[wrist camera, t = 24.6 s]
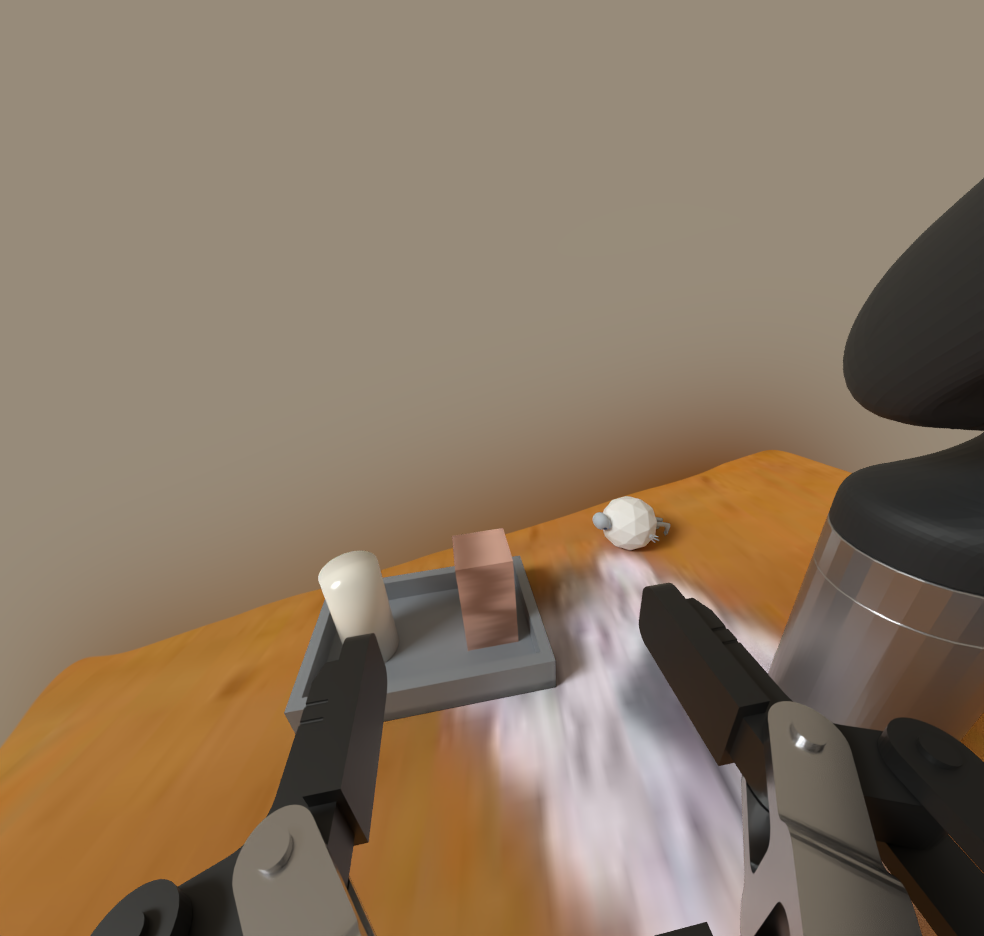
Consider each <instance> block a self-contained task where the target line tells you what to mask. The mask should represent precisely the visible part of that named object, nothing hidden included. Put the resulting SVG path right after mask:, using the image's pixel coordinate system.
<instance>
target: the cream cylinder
mask: <svg viewBox="0 0 984 936" xmlns="http://www.w3.org/2000/svg"><path fill="white" fill-rule="evenodd" d="M318 579H319V583H320V586H321V588H322V591H323V594H324V597H325V599H326V602H327V605H328V607H329V610H330V613H331V615H332V618H333V621H334V623H335V626H336V629H337V631H338V634H339V637H340V639H341V642H342V645H343V642H344V640H345V639H346V638H347V637H353V636H358V635H364V634H370V633H374V634H375V635H376V638H377V641H378V644H379V647H380V651H381V654H382V657H383V660H384V663H385V662H387V661H388V660H389V659H390V658H391V657H392V656H393V655H394V653H395V652H396V650H397V648H398V644H399V637H398V633H397V629H396V626H395V622H394V618H393V615H392V611H391V607H390V604H389V600H388V596H387V593H386V589H385V585H384V582H383V578H382V574H381V571H380V567H379V563H378V560H377V557H376V556H375V555H374V554H373V553H371V552H367V551H353V552H348V553H345V554H342V555H340V556H338V557H336V558H334V559H333V560H331V561H330V562H328V563H327V564H326V565H325V566H324V567H323V568H322V570H321V572H320V574H319V577H318Z"/></svg>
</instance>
